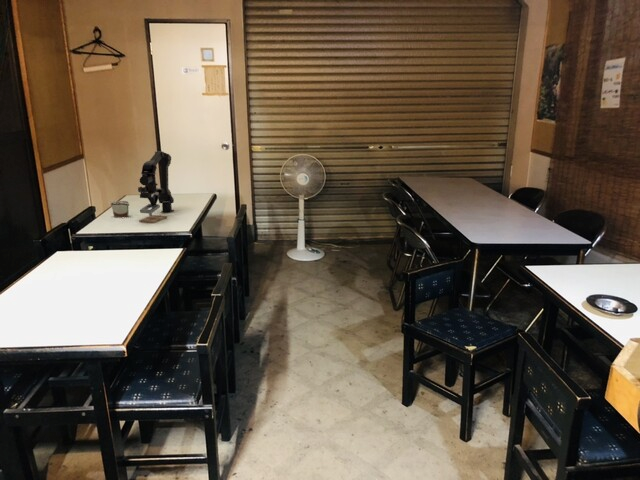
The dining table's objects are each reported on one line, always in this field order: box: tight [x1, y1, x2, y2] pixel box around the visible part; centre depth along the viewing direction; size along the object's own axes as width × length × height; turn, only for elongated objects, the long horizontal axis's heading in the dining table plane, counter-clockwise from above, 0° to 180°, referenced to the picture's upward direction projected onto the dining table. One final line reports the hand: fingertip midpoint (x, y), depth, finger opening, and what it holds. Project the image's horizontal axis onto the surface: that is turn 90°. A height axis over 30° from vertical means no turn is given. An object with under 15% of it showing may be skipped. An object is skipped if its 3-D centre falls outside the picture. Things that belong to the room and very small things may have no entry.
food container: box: [110, 200, 130, 218], centre depth 332 cm, size 12×6×10 cm, turn 84°
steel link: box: [139, 203, 161, 215], centre depth 319 cm, size 10×8×2 cm
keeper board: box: [138, 213, 167, 224], centre depth 322 cm, size 14×11×7 cm
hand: (153, 206), depth 323 cm, fingers closed on steel link, 2 cm apart
